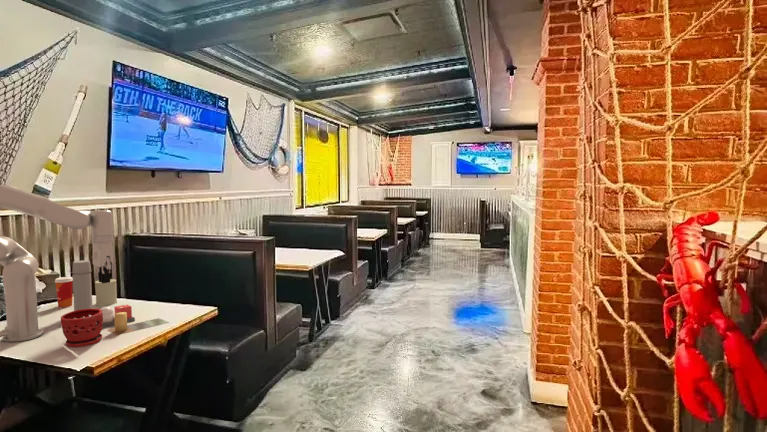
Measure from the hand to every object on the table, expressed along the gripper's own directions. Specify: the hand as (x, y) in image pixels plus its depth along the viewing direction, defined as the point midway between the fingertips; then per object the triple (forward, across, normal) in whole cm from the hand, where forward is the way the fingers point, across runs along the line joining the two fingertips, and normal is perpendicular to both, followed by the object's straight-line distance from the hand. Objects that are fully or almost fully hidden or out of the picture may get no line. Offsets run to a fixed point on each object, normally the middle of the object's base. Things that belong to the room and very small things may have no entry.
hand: (104, 281), depth 187 cm
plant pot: (+19, +17, -14) cm, 29 cm away
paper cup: (+19, -50, -1) cm, 54 cm away
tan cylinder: (+19, +13, +1) cm, 23 cm away
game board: (+19, +13, +8) cm, 24 cm away
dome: (+18, 0, 0) cm, 18 cm away
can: (+19, -40, +14) cm, 47 cm away
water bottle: (+19, -27, 0) cm, 33 cm away
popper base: (+19, 0, +3) cm, 19 cm away
